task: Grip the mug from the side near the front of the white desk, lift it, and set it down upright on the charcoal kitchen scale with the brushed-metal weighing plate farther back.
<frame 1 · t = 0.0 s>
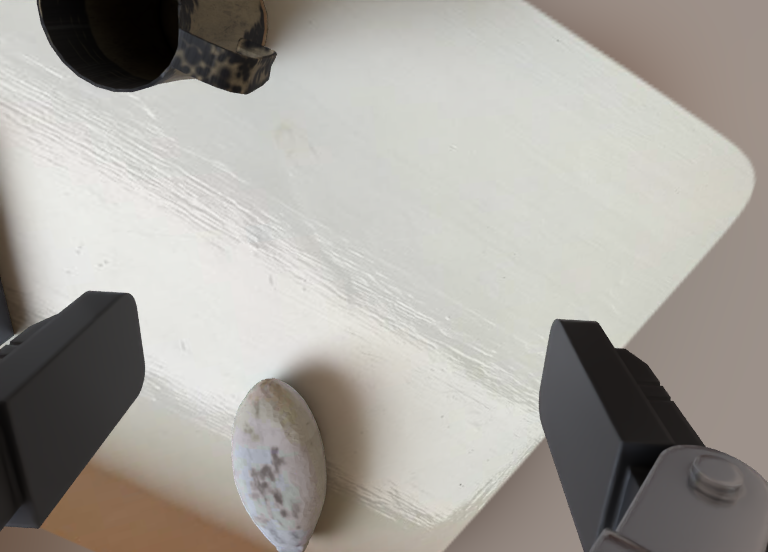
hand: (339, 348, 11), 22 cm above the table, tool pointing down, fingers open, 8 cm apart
decorative stone: (285, 454, 40), on the table
mug: (234, 29, 30), on the table
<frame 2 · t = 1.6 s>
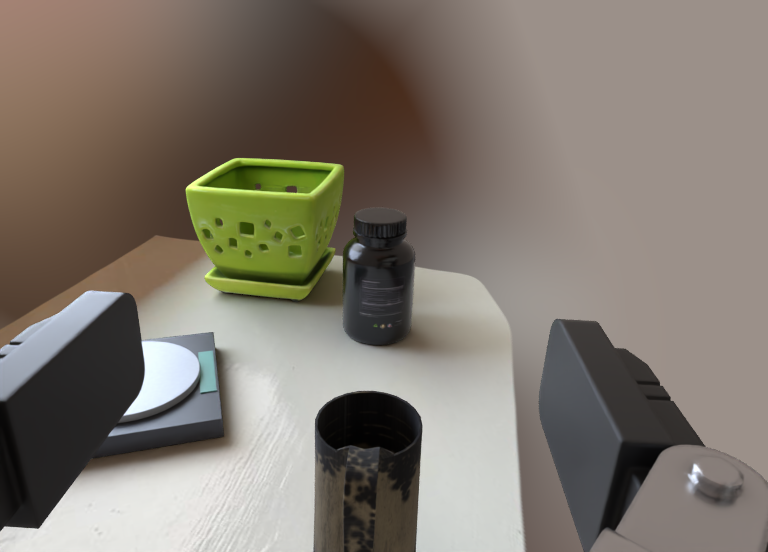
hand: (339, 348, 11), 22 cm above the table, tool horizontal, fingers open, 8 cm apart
scale: (133, 398, 45), on the table
supplement bottle: (376, 331, 57), on the table
flower pot: (275, 282, 67), on the table
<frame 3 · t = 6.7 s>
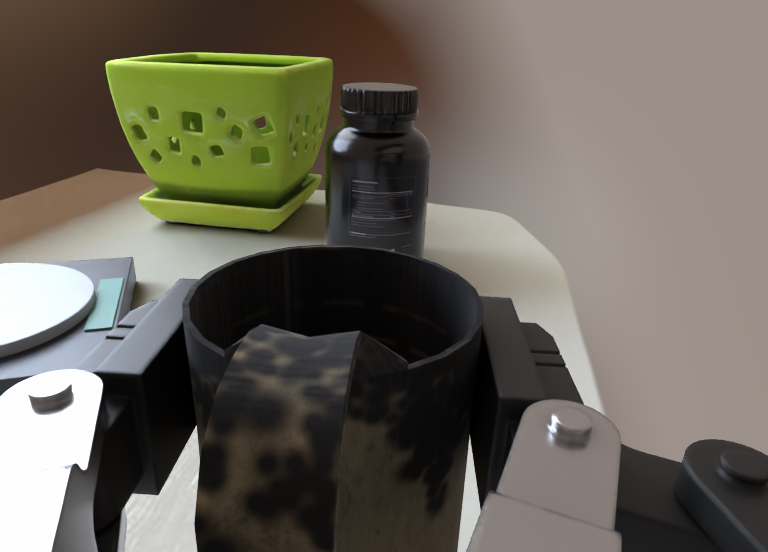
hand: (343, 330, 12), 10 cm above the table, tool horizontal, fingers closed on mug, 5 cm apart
supplement bottle: (373, 267, 40), on the table
flower pot: (240, 214, 50), on the table
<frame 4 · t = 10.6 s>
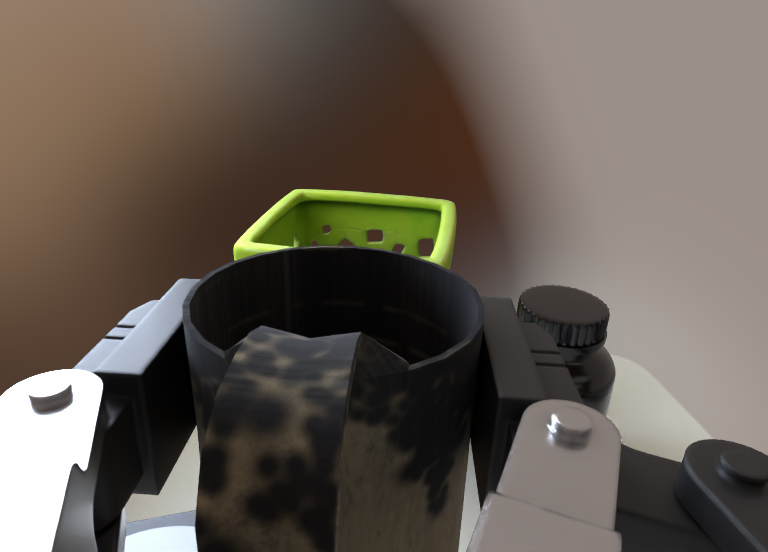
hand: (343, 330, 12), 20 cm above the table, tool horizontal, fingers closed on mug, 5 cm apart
supplement bottle: (531, 474, 36), on the table
flower pot: (353, 370, 46), on the table
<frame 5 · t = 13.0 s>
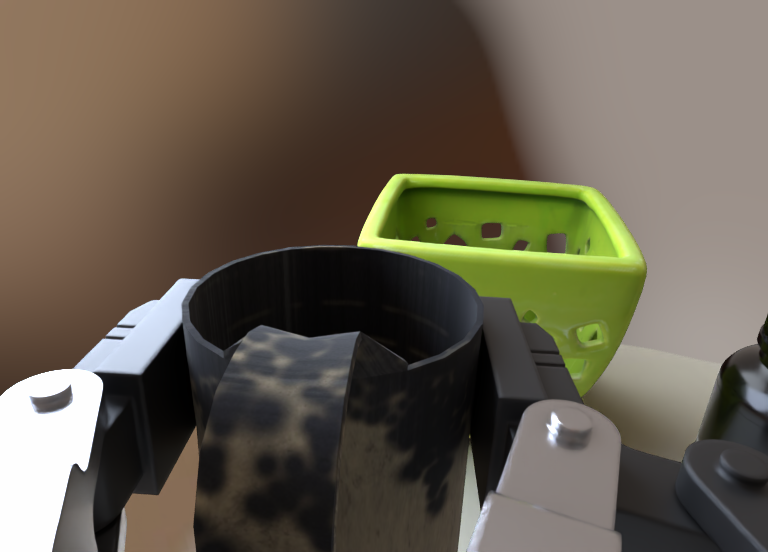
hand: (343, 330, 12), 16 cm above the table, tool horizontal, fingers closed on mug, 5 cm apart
supplement bottle: (749, 540, 28), on the table
flower pot: (472, 396, 37), on the table
when the fingers open (12 cm above the table, at t = 14.8 s): mug stays where it is, resting on scale.
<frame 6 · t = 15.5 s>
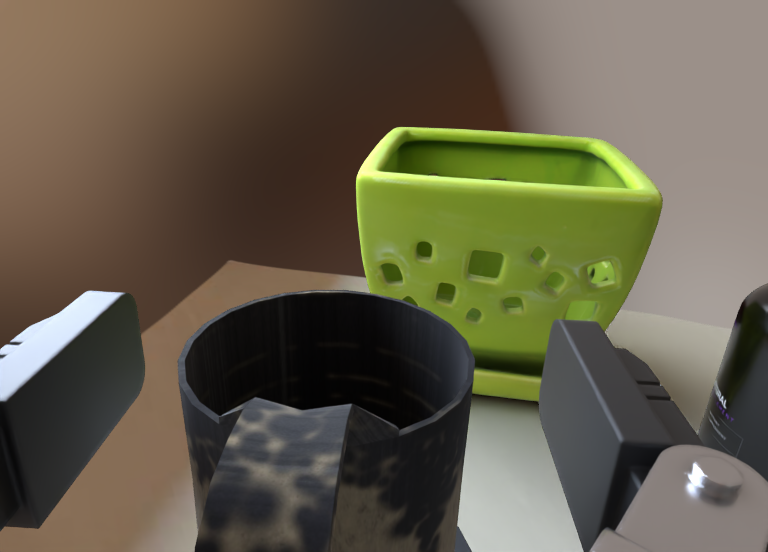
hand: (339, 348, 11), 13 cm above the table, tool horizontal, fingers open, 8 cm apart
flower pot: (475, 356, 36), on the table
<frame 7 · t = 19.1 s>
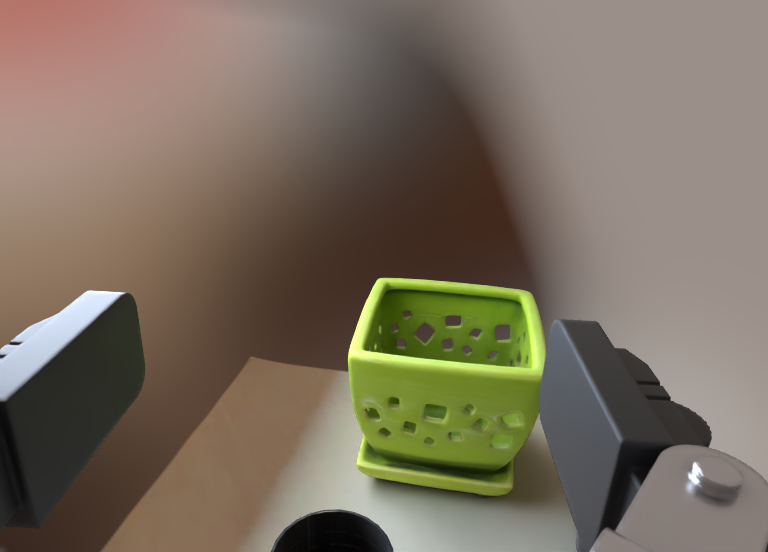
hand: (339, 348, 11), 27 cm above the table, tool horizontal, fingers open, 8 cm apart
flower pot: (437, 451, 49), on the table
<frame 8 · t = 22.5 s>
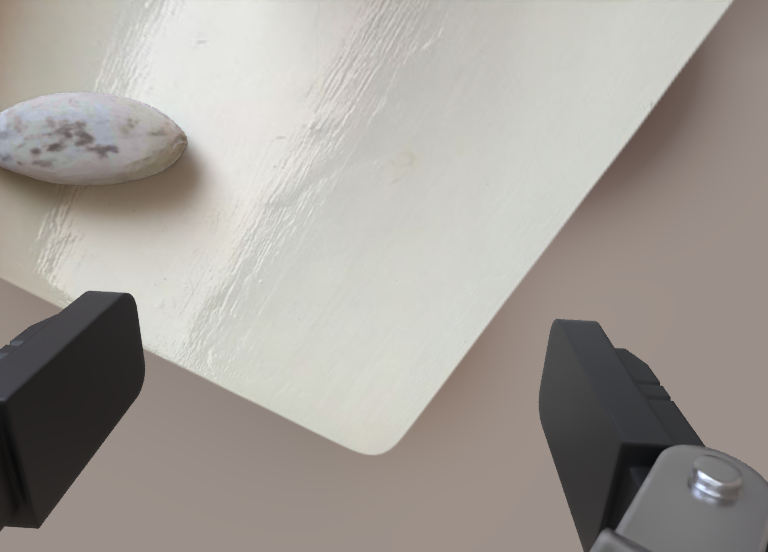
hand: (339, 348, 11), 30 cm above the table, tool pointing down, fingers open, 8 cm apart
decorative stone: (90, 135, 40), on the table
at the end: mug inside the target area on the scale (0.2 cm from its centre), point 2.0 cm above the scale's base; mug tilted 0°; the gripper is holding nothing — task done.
